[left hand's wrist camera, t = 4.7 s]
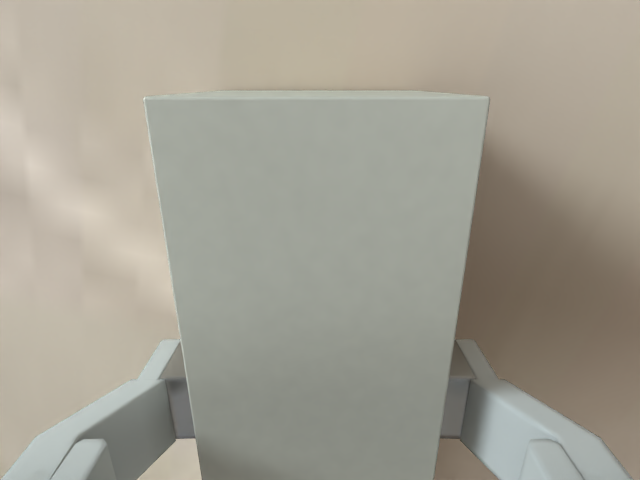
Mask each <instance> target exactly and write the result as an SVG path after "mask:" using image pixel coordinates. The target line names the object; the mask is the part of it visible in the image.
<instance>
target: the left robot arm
mask: <svg viewBox="0 0 640 480" xmlns="http://www.w3.org/2000/svg"><path fill="white" fill-rule="evenodd" d="M185 438H196V437H195V431H194V424H193V418H192V411H191V405H190V398H189V392H188V385H187V379H186V373H185V366H184V360H183V353H182V347H181V340H180V339H164V340H162V341H161V342H160V343H159V345H158V346H157V348H156V350H155V351H154V353H153V354H152V356H151V358H150V359H149V361H148V362H147V364H146V366H145V367H144V369H143V370H142V372H141V374H140V375H139V377H138V378H137V379H131V380H129V381H128V382H126V383H124V384H123V385H121V386H119V387H118V388H116V389H115V390H113V391H111V392H110V393H108V394H106V395H105V396H103V397H101V398H100V399H98V400H96V401H95V402H93V403H91V404H90V405H88V406H86V407H85V408H83V409H81V410H80V411H78V412H76V413H75V414H73V415H71V416H70V417H68V418H66V419H65V420H63V421H61V422H60V423H58V424H56V425H55V426H53V427H51V428H50V429H48V430H46V431H45V432H43V433H41V434H40V435H38V436H36V437H35V438H34V439H33V441H32V442H31V443H30V444H29V446H28V447H27V448H26V449H25V450H24V452H23V453H22V454H21V455H20V457H19V458H18V459H17V460H16V462H15V463H14V464H13V465H12V467H11V468H10V469H9V470H8V471H7V473H6V474H5V475H4V476H3V478H2V479H1V480H137V479H138V478H139V477H140V476H141V475H142V474H143V473H144V472H145V471H146V470H147V469H148V468H149V467H150V466H151V465H152V464H153V463H154V462H155V461H156V460H157V459H158V458H159V457H160V456H161V455H162V454H163V453H164V452H165V451H166V450H167V449H168V448H169V447H170V446H171V445H172V444H173V443H174V442H175V441H176V439H185ZM440 438H450V439H460V441H461V442H462V443H463V444H464V445H465V446H466V447H467V448H468V449H469V450H470V451H471V452H472V453H473V454H474V455H475V456H476V457H477V458H478V459H479V460H480V461H481V462H482V463H483V464H484V465H485V466H486V467H487V468H488V469H489V470H490V471H491V472H492V473H493V474H494V475H495V476H496V477H497V478H498V479H499V480H633V479H632V477H631V476H630V475H629V473H628V472H627V471H626V470H625V468H624V467H623V466H622V465H621V463H620V462H619V461H618V460H617V458H616V457H615V456H614V454H613V453H612V452H611V451H610V449H609V448H608V447H607V446H606V444H605V443H604V442H603V441H602V439H601V438H600V437H598V436H597V435H595V434H593V433H592V432H590V431H588V430H587V429H585V428H583V427H582V426H580V425H579V424H577V423H575V422H574V421H572V420H570V419H569V418H567V417H565V416H564V415H562V414H560V413H559V412H557V411H556V410H554V409H552V408H551V407H549V406H547V405H546V404H544V403H542V402H541V401H539V400H537V399H536V398H534V397H533V396H531V395H529V394H528V393H526V392H524V391H523V390H521V389H519V388H518V387H516V386H515V385H513V384H511V383H510V382H508V381H506V380H505V379H498V377H497V376H496V374H495V372H494V371H493V369H492V367H491V366H490V364H489V363H488V361H487V359H486V358H485V356H484V354H483V353H482V351H481V350H480V348H479V346H478V345H477V343H476V342H475V341H474V340H473V339H455V340H454V347H453V353H452V360H451V367H450V374H449V380H448V387H447V394H446V400H445V407H444V414H443V421H442V427H441V434H440Z"/></svg>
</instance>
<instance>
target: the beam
mask: <svg viewBox="0 0 640 480" xmlns="http://www.w3.org/2000/svg"><path fill="white" fill-rule="evenodd" d="M143 101H144V108H145V114H146V121H147V127H148V134H149V140H150V146H151V153H152V159H153V166H154V172H155V179H156V185H157V192H158V198H159V205H160V211H161V218H162V224H163V230H164V237H165V243H166V250H167V256H168V263H169V269H170V276H171V282H172V289H173V295H174V301H175V308H176V314H177V321H178V327H179V334H180V340H181V347H182V353H183V360H184V366H185V373H186V379H187V385H188V392H189V398H190V405H191V411H192V418H193V424H194V431H195V437H196V444H197V450H198V457H199V463H200V469H201V476H202V480H434V475H435V468H436V461H437V454H438V448H439V441H440V434H441V427H442V421H443V414H444V407H445V400H446V394H447V387H448V380H449V374H450V367H451V360H452V353H453V347H454V340H455V333H456V326H457V320H458V313H459V306H460V299H461V293H462V286H463V279H464V273H465V266H466V259H467V252H468V246H469V239H470V232H471V225H472V219H473V212H474V205H475V198H476V192H477V185H478V178H479V172H480V165H481V158H482V151H483V145H484V138H485V131H486V124H487V118H488V111H489V104H490V97H488V96H478V95H465V94H453V93H440V92H428V91H415V90H222V91H209V92H196V93H183V94H170V95H157V96H146V97H144V99H143Z"/></svg>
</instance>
